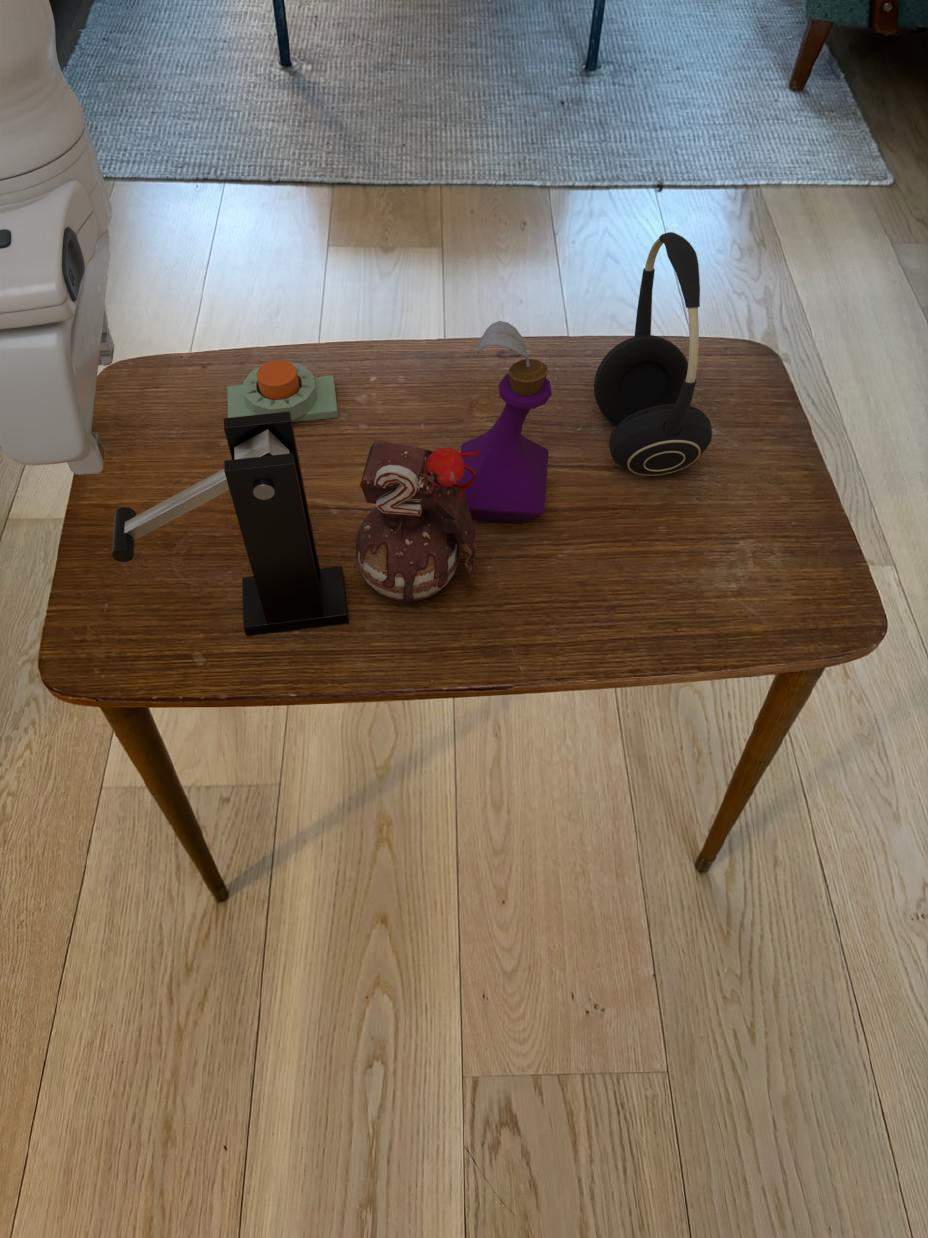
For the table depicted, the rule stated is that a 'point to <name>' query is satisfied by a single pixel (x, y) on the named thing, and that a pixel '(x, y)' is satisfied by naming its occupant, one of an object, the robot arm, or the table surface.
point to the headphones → (656, 380)
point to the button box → (305, 405)
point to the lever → (183, 499)
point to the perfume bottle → (509, 442)
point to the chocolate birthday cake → (414, 520)
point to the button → (278, 380)
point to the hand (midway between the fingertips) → (95, 409)
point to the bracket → (279, 536)
